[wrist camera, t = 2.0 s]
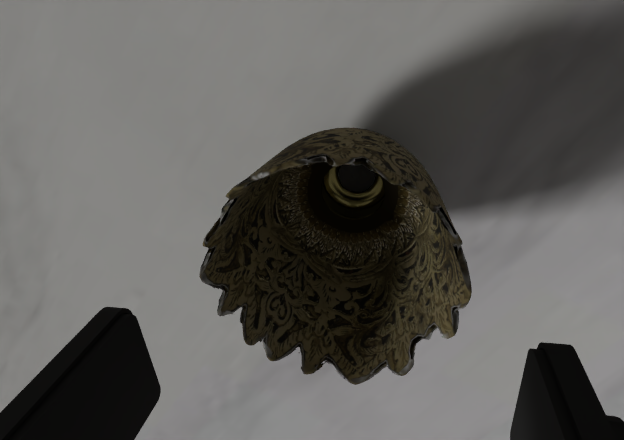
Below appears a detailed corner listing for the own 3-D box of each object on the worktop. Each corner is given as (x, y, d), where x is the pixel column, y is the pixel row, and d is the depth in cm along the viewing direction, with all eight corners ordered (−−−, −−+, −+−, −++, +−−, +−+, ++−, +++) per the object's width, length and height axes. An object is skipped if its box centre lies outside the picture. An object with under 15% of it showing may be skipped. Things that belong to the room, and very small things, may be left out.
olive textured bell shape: (339, 47, 16) (288, 98, 9) (485, 162, 17) (538, 285, 10) (245, 185, 20) (160, 294, 13) (370, 272, 21) (351, 415, 14)
